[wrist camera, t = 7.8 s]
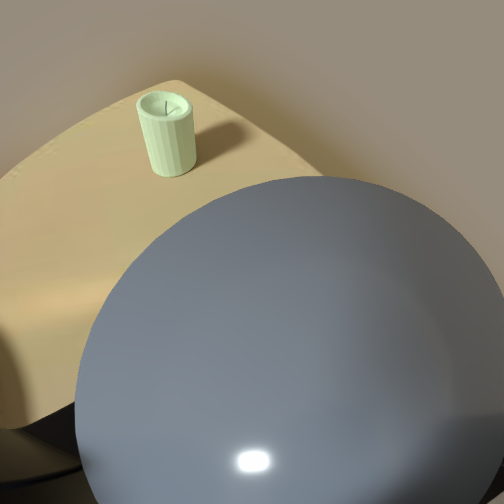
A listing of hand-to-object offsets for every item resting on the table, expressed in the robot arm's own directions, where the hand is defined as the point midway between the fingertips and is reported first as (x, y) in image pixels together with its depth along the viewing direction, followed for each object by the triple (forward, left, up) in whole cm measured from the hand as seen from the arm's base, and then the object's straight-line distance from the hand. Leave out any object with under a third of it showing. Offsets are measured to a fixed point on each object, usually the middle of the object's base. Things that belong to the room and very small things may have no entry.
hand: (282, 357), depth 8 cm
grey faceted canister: (-1, +1, -7) cm, 7 cm away
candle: (+22, -3, -12) cm, 25 cm away
